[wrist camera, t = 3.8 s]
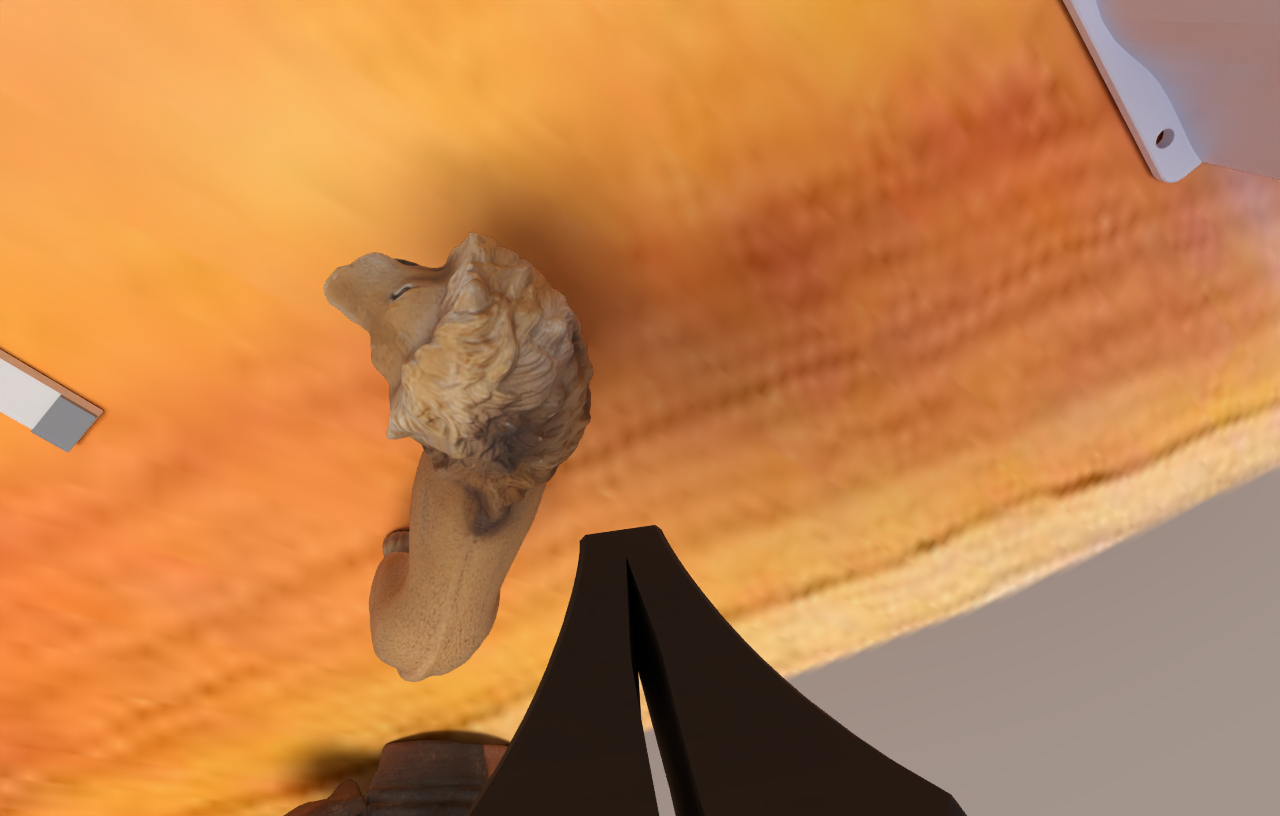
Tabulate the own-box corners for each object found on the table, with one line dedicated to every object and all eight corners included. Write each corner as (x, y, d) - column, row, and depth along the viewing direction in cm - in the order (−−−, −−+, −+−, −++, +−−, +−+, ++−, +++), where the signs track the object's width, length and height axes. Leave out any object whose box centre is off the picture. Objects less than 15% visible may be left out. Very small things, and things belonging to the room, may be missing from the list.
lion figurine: (386, 155, 18) (282, 264, 11) (595, 187, 19) (641, 307, 12) (379, 598, 25) (312, 866, 17) (536, 603, 26) (539, 859, 18)
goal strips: (516, -83, 16) (515, -85, 16) (75, 445, 21) (67, 452, 20) (118, -549, 12) (106, -565, 12) (-318, 223, 17) (-336, 228, 17)
